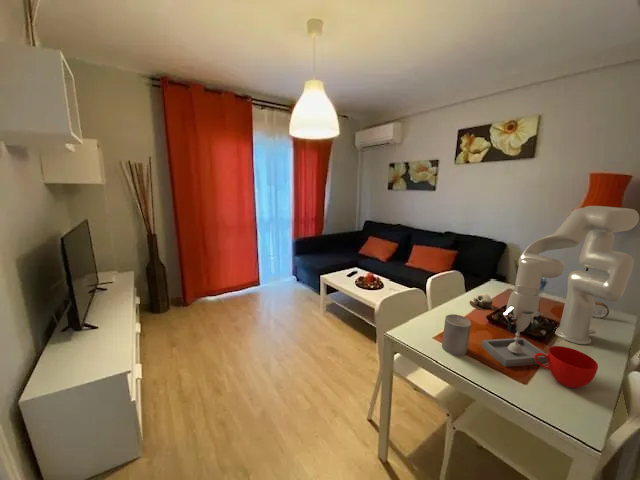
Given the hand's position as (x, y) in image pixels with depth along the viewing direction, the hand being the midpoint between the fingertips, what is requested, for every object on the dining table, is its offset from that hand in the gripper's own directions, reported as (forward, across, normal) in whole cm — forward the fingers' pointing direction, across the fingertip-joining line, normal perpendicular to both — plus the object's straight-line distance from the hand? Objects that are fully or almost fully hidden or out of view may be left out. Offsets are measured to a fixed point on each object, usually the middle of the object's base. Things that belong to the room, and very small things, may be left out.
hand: (518, 330), depth 110 cm
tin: (+12, -66, -26) cm, 72 cm away
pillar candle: (+11, +23, -6) cm, 26 cm away
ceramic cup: (+11, -5, +15) cm, 19 cm away
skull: (+11, -17, -42) cm, 47 cm away
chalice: (+9, 0, 0) cm, 9 cm away
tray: (+11, 0, 0) cm, 11 cm away
